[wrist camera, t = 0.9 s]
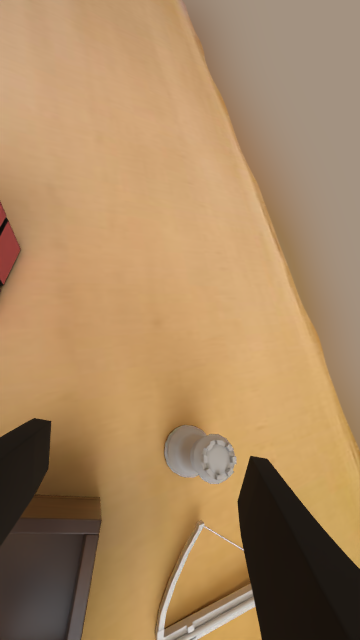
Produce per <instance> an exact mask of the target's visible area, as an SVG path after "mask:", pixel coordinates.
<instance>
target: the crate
mask: <svg viewBox="0 0 360 640" xmlns="http://www.w3.org/2000/svg"><path fill="white" fill-rule="evenodd" d="M101 521H102V520H101V503H100V498H97V497H73V496H49V495H34V497H33V498H32V500H31V502H30V503H29V505H28V506H27V508H26V509H25V511H24V512H23V514H22V515H21V517H20V518H19V520H18V521H17V523H16V524H15V526H14V527H13V529H12V530H11V531H10V533H9V534H8V536H7V537H6V539H5V540H4V542H3V543H2V545H1V546H0V640H81V637H82V631H83V625H84V620H85V614H86V608H87V602H88V596H89V591H90V585H91V579H92V573H93V567H94V562H95V556H96V550H97V544H98V538H99V533H100V527H101Z"/></svg>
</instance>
